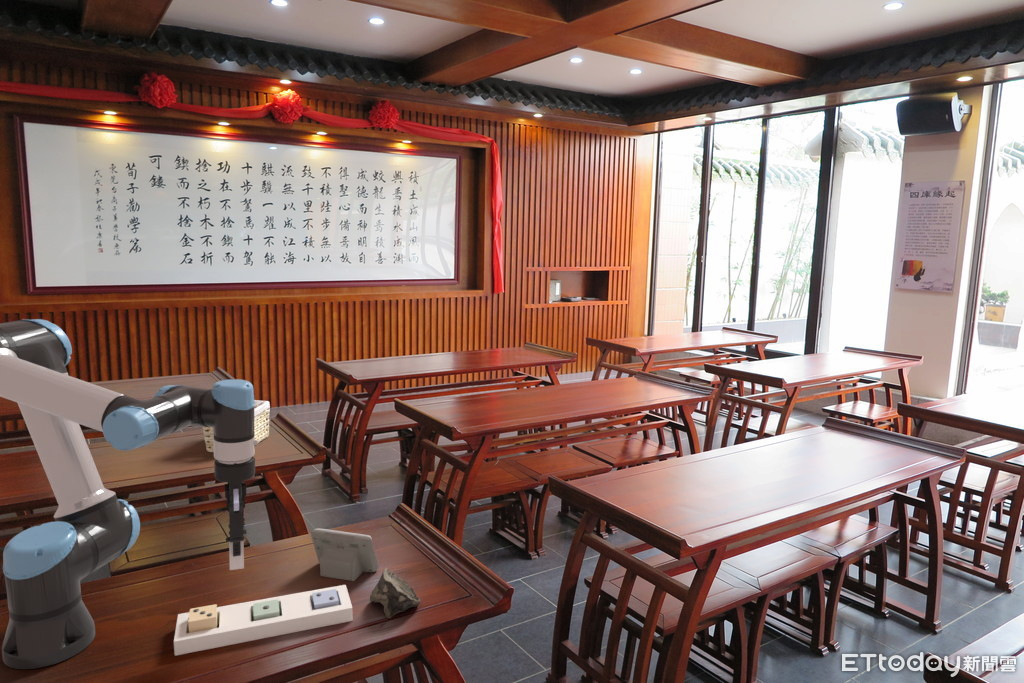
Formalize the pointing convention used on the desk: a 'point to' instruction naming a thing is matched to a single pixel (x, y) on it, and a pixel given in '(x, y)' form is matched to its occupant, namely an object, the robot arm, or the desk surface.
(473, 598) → the desk surface
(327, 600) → the tile two
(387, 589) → the grey rock
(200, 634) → the tile panel
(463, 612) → the desk surface
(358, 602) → the desk surface
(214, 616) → the tile three
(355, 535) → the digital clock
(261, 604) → the tile one
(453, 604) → the desk surface
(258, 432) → the storage basket
